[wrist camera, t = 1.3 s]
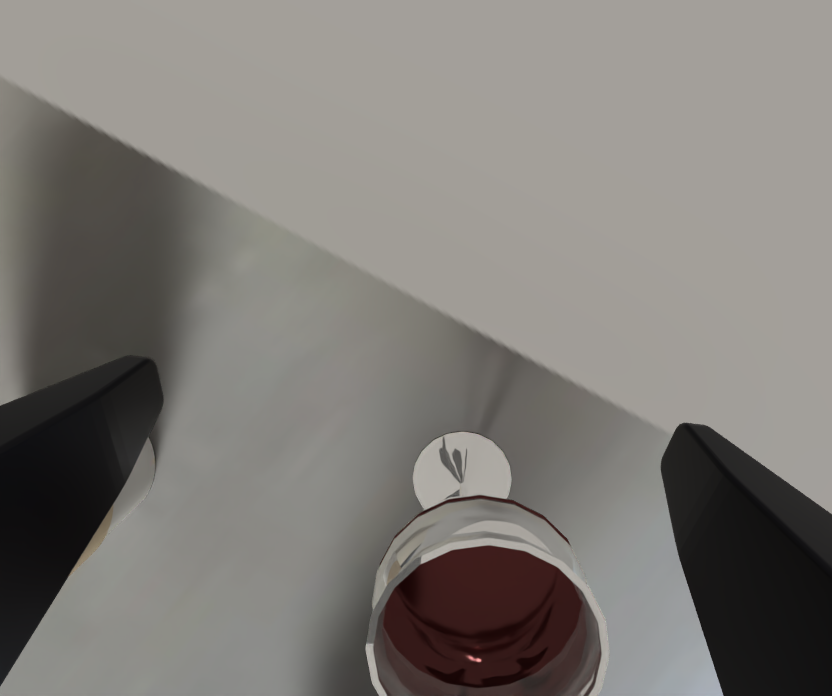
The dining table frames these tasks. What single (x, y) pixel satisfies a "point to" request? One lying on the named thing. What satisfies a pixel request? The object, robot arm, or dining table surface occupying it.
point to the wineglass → (481, 590)
